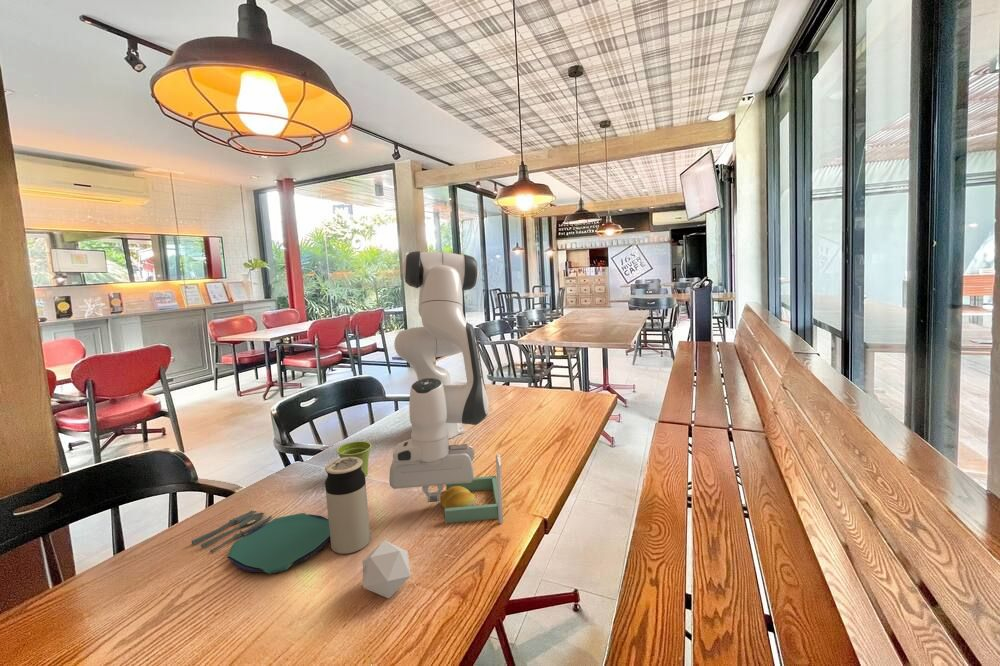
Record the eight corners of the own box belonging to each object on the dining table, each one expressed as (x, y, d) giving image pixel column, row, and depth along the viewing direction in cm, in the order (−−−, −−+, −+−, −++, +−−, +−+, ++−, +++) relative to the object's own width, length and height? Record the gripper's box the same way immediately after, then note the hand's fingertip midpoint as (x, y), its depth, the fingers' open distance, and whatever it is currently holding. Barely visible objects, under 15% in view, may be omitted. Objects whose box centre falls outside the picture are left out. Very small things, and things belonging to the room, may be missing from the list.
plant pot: (380, 471, 128) (378, 443, 127) (357, 486, 120) (355, 456, 118) (356, 466, 132) (353, 439, 131) (332, 480, 124) (329, 451, 122)
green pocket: (446, 490, 115) (443, 432, 113) (496, 486, 116) (494, 428, 114) (444, 541, 93) (440, 470, 91) (505, 535, 94) (503, 465, 92)
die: (380, 571, 86) (349, 549, 80) (417, 548, 86) (389, 524, 80) (383, 613, 79) (349, 592, 73) (424, 587, 79) (393, 565, 73)
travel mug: (377, 535, 96) (371, 457, 94) (354, 558, 89) (347, 474, 86) (347, 530, 99) (340, 454, 96) (323, 551, 91) (314, 470, 89)
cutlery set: (275, 591, 81) (274, 579, 81) (180, 552, 94) (179, 542, 94) (353, 532, 99) (352, 523, 98) (265, 506, 112) (264, 498, 111)
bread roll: (451, 519, 102) (451, 503, 101) (436, 503, 109) (435, 487, 109) (482, 508, 106) (482, 492, 105) (466, 493, 114) (465, 478, 113)
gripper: (473, 438, 109) (475, 491, 111) (390, 444, 107) (394, 497, 109) (474, 448, 103) (476, 503, 105) (385, 455, 101) (390, 511, 103)
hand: (434, 500), depth 107 cm, fingers closed
